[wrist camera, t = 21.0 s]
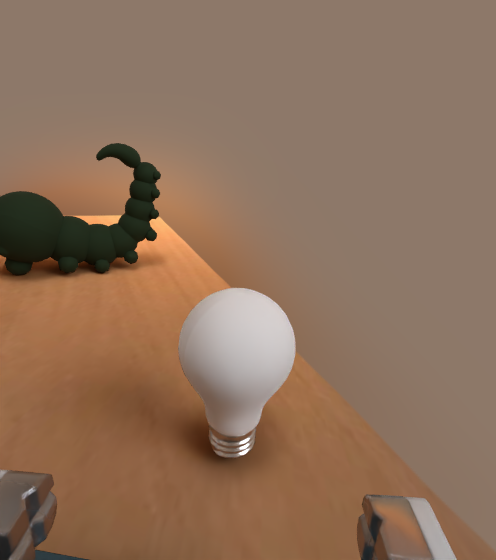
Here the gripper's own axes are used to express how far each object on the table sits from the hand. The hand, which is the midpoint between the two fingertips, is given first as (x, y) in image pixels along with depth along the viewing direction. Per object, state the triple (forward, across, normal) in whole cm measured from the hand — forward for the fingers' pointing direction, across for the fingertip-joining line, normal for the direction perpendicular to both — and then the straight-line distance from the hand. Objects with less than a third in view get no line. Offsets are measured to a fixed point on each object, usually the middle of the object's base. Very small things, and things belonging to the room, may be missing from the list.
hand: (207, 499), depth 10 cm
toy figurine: (+43, +25, +10) cm, 51 cm away
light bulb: (+11, 0, +10) cm, 15 cm away
